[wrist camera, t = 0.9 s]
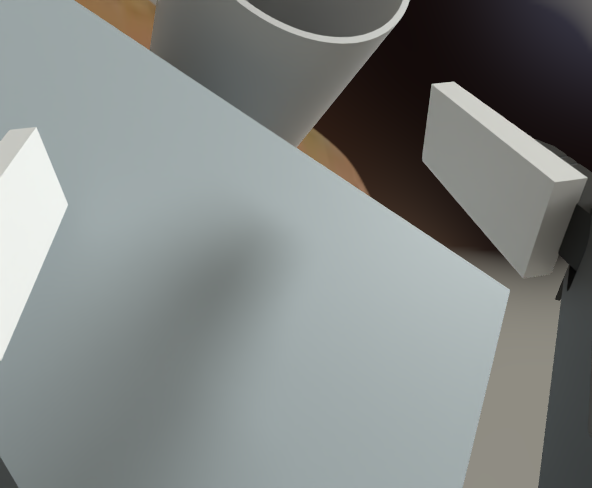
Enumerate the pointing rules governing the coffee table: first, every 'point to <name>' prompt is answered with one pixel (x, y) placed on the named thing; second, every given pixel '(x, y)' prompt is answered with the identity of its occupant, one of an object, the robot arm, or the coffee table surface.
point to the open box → (220, 294)
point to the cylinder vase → (273, 52)
